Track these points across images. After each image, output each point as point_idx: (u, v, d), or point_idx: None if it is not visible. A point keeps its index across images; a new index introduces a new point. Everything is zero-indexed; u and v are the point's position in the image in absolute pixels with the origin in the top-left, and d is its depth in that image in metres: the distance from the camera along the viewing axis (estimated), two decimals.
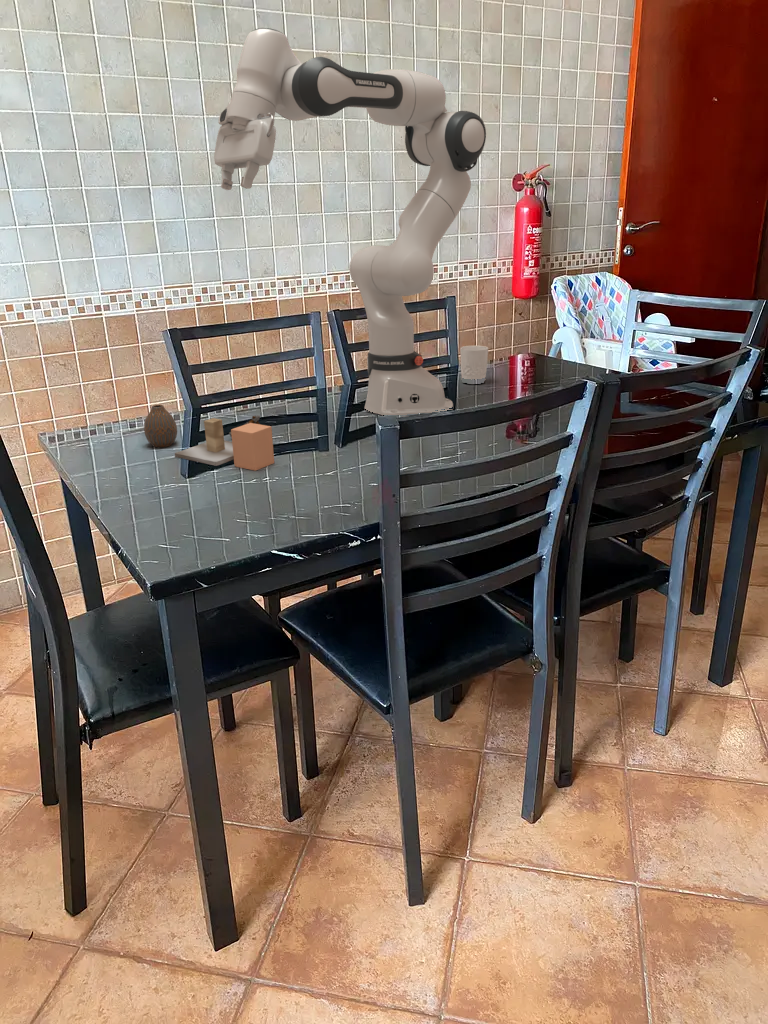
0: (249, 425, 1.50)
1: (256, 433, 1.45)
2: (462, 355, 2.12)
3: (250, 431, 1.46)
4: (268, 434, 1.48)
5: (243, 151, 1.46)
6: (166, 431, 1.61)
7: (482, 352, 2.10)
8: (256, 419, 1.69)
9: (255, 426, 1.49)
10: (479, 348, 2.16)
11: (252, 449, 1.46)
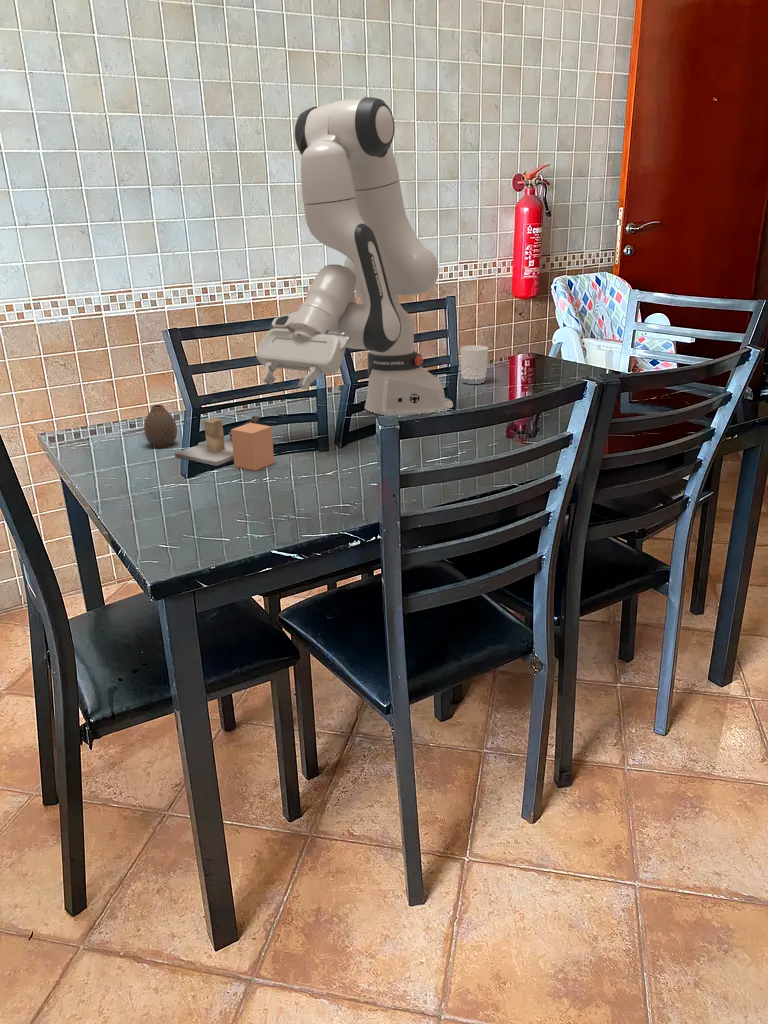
0: (249, 425, 1.50)
1: (256, 433, 1.45)
2: (462, 355, 2.12)
3: (250, 431, 1.46)
4: (268, 434, 1.48)
5: (309, 356, 1.52)
6: (165, 431, 1.61)
7: (482, 352, 2.10)
8: (256, 419, 1.69)
9: (255, 426, 1.49)
10: (479, 348, 2.16)
11: (252, 449, 1.46)
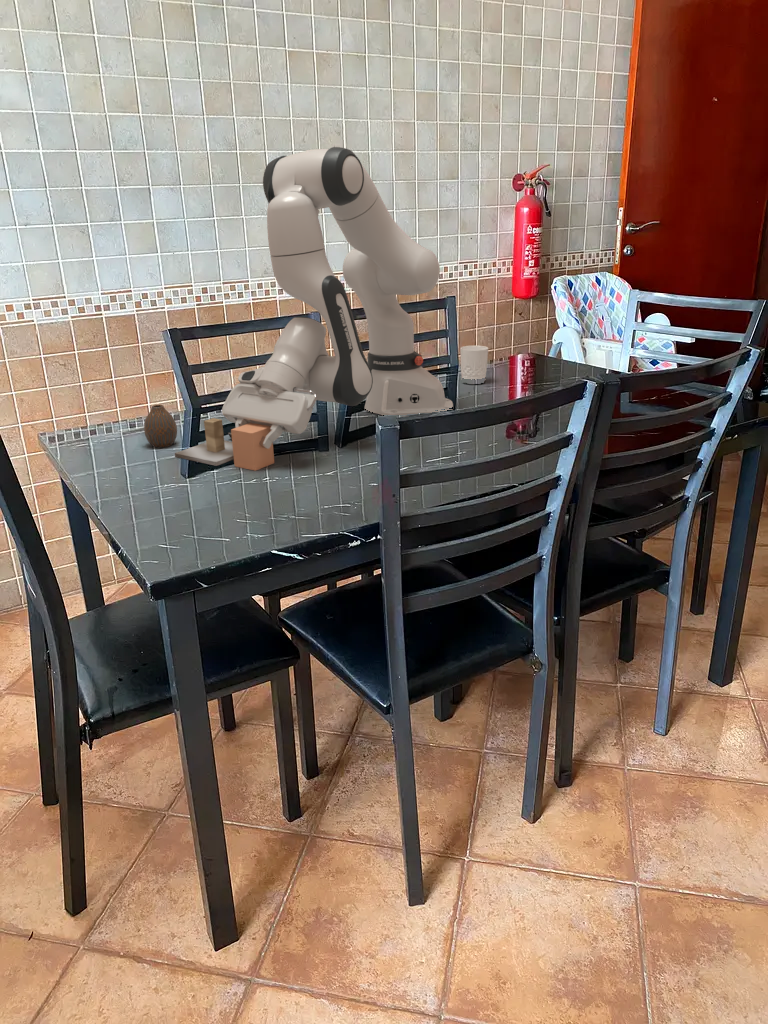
0: (249, 425, 1.50)
1: (256, 433, 1.45)
2: (462, 355, 2.12)
3: (250, 431, 1.46)
4: None
5: (275, 415, 1.47)
6: (165, 431, 1.61)
7: (482, 352, 2.10)
8: None
9: (255, 426, 1.49)
10: (479, 348, 2.16)
11: (252, 449, 1.46)
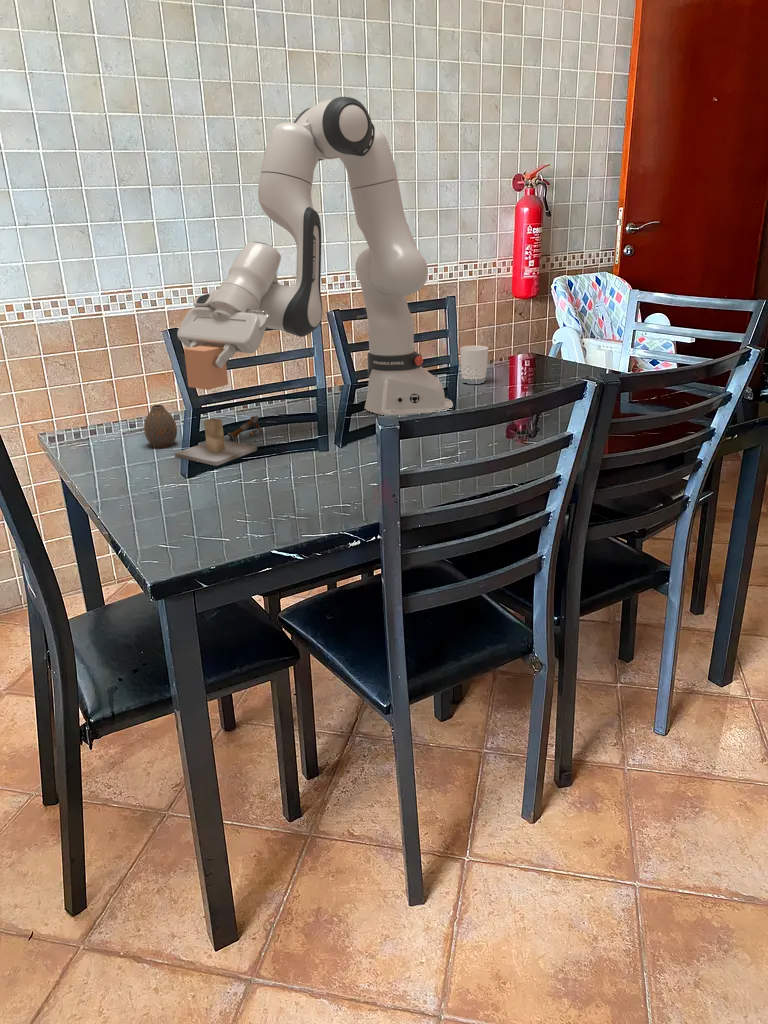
0: (203, 346, 1.51)
1: (208, 352, 1.47)
2: (462, 355, 2.12)
3: (202, 350, 1.47)
4: None
5: (227, 334, 1.48)
6: (166, 431, 1.61)
7: (482, 352, 2.10)
8: (255, 419, 1.69)
9: (208, 347, 1.51)
10: (479, 348, 2.16)
11: (205, 368, 1.47)
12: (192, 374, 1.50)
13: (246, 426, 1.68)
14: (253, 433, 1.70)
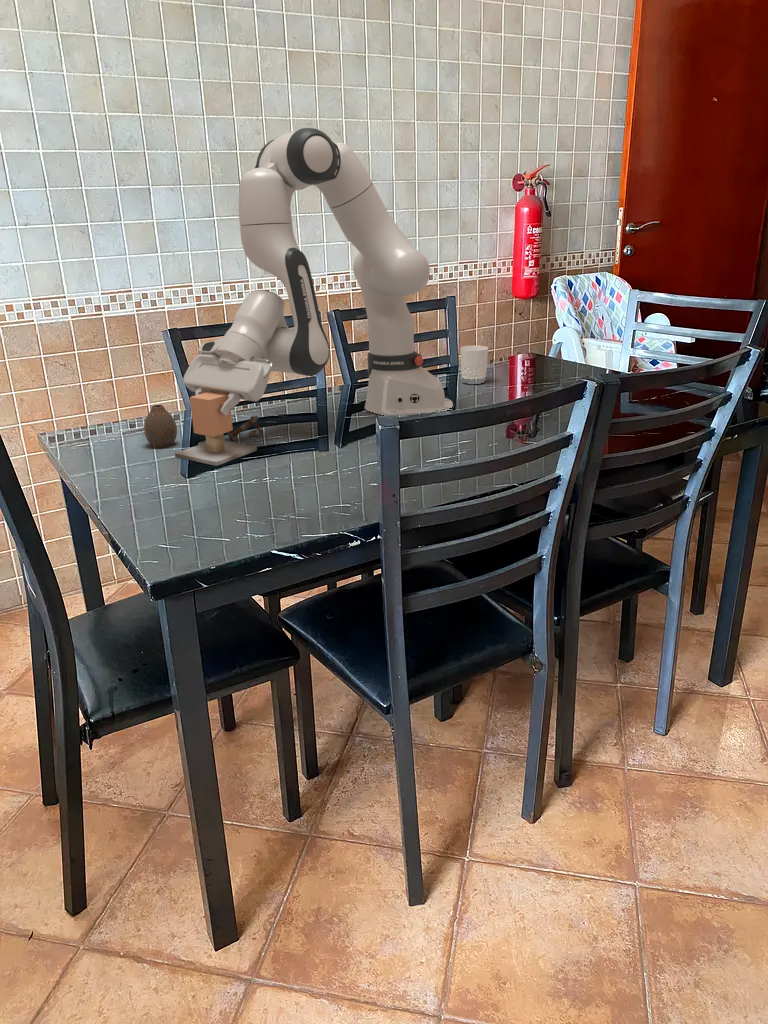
0: (208, 393, 1.55)
1: (213, 400, 1.51)
2: (462, 355, 2.12)
3: (208, 398, 1.51)
4: None
5: (232, 383, 1.52)
6: (165, 431, 1.61)
7: (482, 352, 2.10)
8: (254, 419, 1.69)
9: (213, 394, 1.54)
10: (479, 348, 2.16)
11: (210, 416, 1.51)
12: (198, 421, 1.54)
13: (246, 426, 1.68)
14: (253, 433, 1.70)
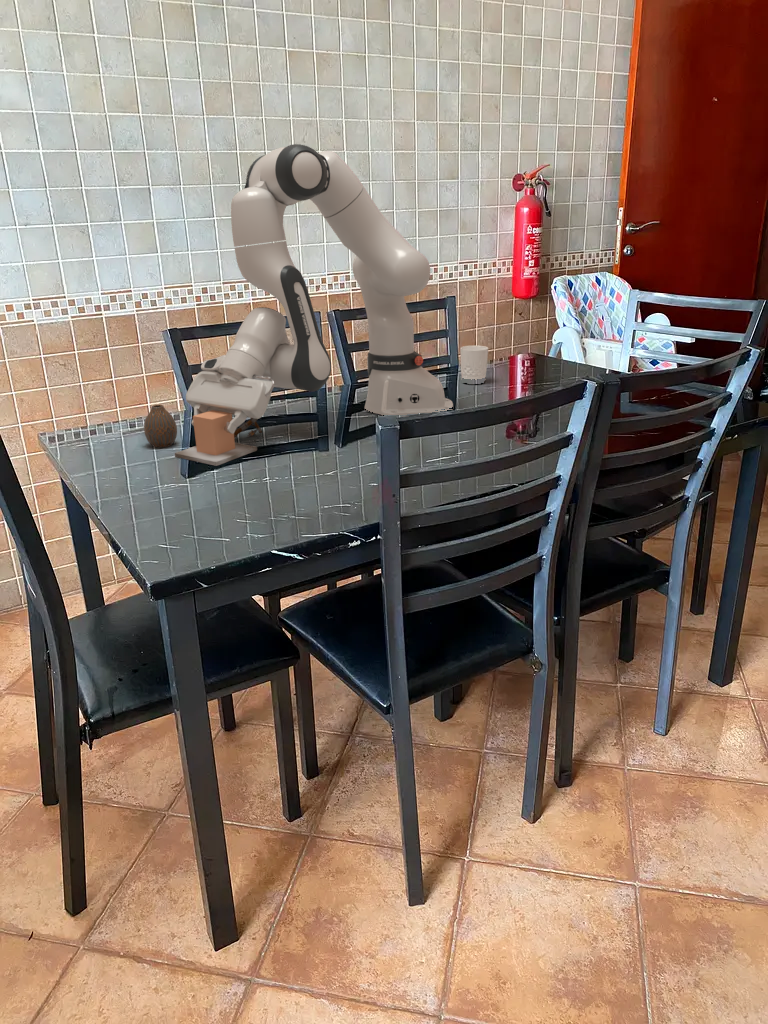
0: (211, 412, 1.57)
1: (216, 419, 1.52)
2: (462, 355, 2.12)
3: (210, 417, 1.53)
4: (228, 421, 1.55)
5: (234, 401, 1.54)
6: (165, 431, 1.61)
7: (482, 352, 2.10)
8: (254, 420, 1.69)
9: (216, 413, 1.56)
10: (479, 348, 2.16)
11: (213, 435, 1.53)
12: (200, 440, 1.55)
13: (245, 426, 1.68)
14: (252, 433, 1.70)
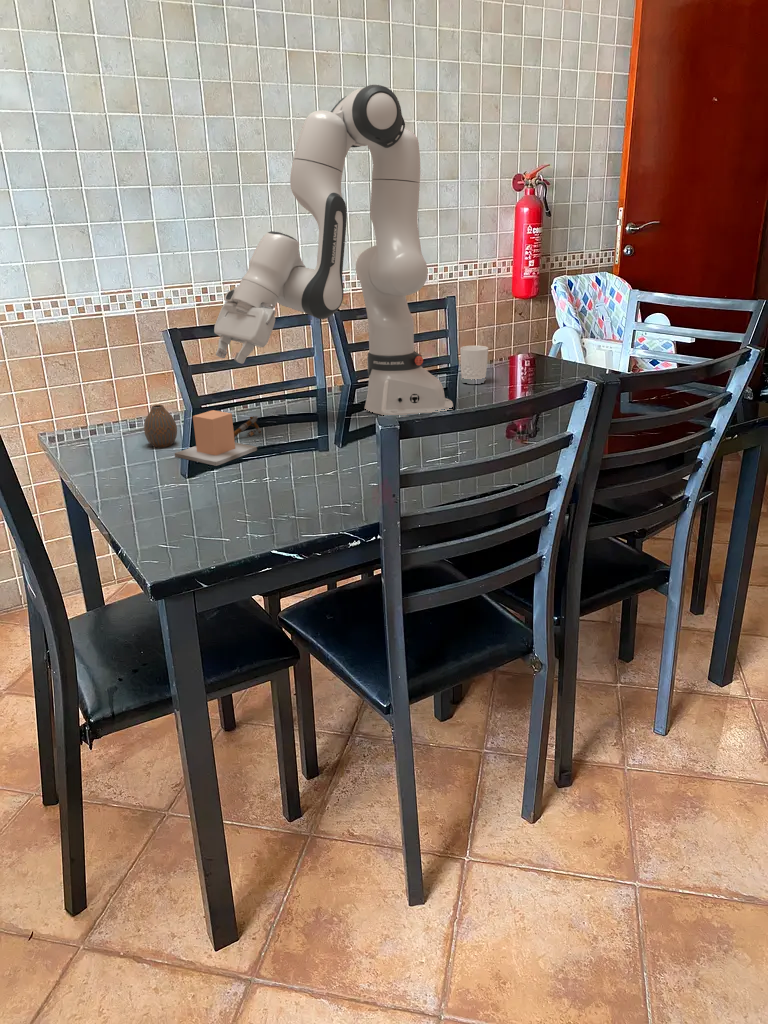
0: (211, 412, 1.57)
1: (216, 419, 1.52)
2: (462, 355, 2.12)
3: (210, 417, 1.53)
4: (228, 421, 1.55)
5: (242, 331, 1.60)
6: (165, 431, 1.61)
7: (482, 352, 2.10)
8: (253, 420, 1.69)
9: (216, 413, 1.56)
10: (479, 348, 2.16)
11: (213, 435, 1.53)
12: (200, 440, 1.55)
13: (245, 426, 1.68)
14: (252, 433, 1.70)
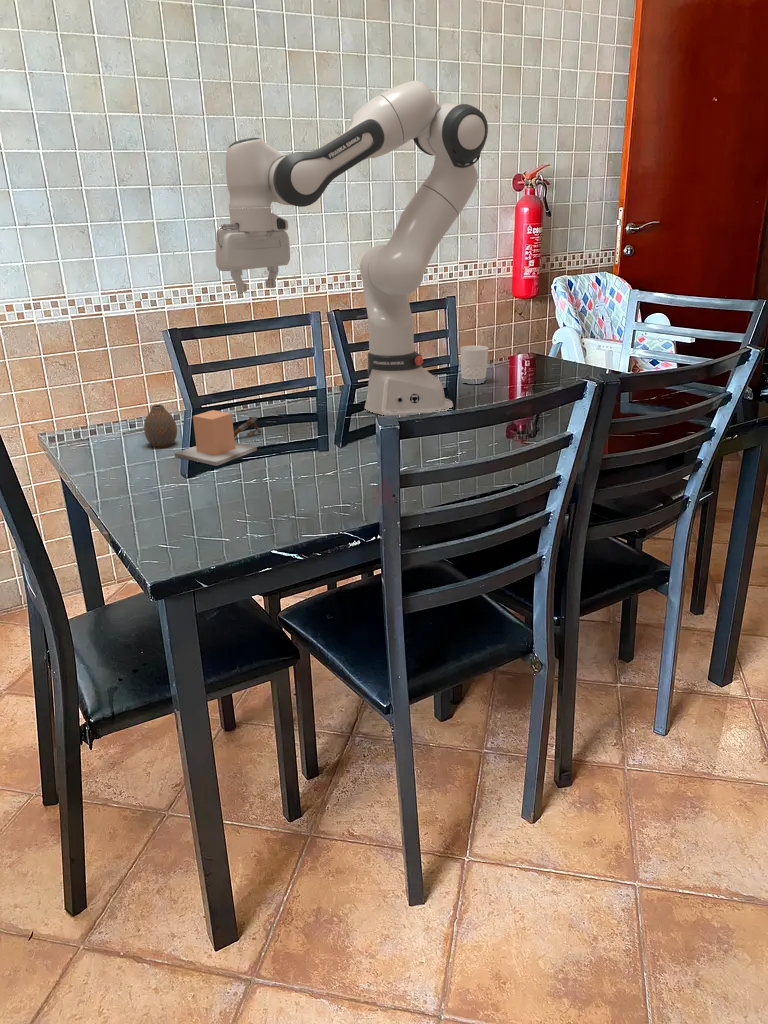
0: (211, 412, 1.57)
1: (216, 419, 1.52)
2: (462, 355, 2.12)
3: (210, 417, 1.53)
4: (228, 421, 1.55)
5: None
6: (165, 431, 1.61)
7: (482, 352, 2.10)
8: (253, 420, 1.69)
9: (216, 413, 1.56)
10: (479, 348, 2.16)
11: (213, 435, 1.53)
12: (200, 440, 1.55)
13: (244, 426, 1.68)
14: (251, 433, 1.70)
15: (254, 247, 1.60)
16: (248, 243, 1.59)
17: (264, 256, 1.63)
